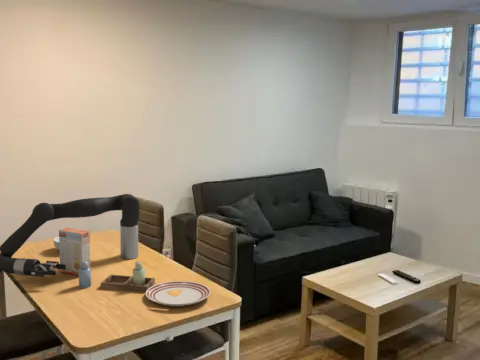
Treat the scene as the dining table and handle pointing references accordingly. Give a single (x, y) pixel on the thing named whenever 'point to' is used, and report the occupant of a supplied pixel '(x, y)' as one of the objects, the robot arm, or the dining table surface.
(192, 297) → the dinner plate
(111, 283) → the caddy
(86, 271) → the blue bottle
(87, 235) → the cracker box
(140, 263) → the green bottle
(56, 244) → the cereal bowl
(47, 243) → the dining table surface
